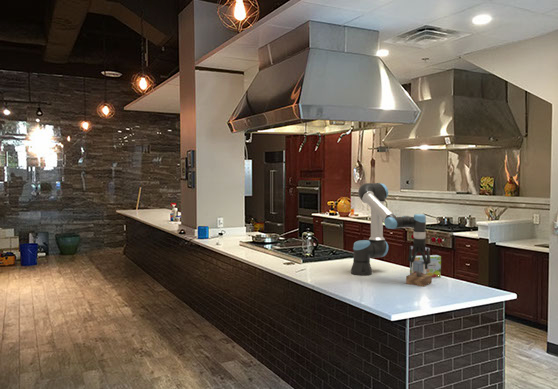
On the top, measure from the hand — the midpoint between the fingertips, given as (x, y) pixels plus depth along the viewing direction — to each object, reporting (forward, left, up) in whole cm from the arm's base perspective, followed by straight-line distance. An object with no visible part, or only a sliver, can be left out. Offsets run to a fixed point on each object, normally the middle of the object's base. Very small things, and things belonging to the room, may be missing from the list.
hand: (418, 273), depth 316 cm
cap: (0, 0, +2) cm, 2 cm away
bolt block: (0, 0, -7) cm, 7 cm away
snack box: (-5, +21, -7) cm, 23 cm away
